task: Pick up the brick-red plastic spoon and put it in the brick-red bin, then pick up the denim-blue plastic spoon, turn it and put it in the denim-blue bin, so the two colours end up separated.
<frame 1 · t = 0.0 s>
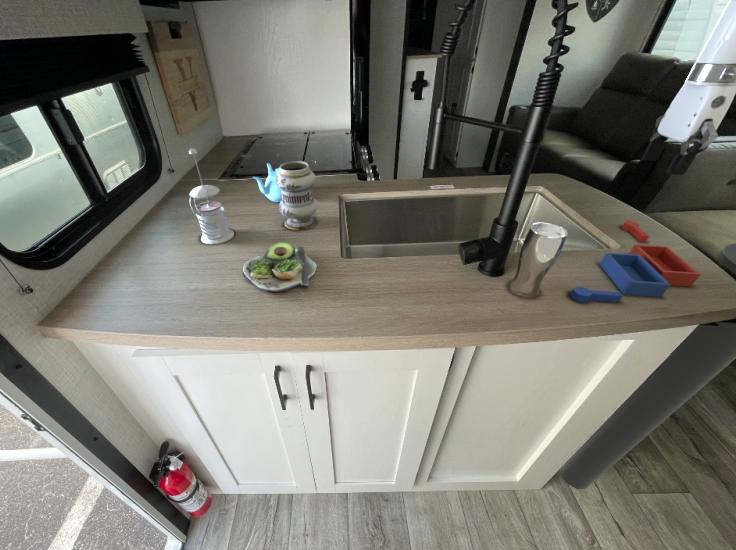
hand: (661, 166, 73), 21 cm above the worktop, tool pointing down, fingers open, 9 cm apart
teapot: (280, 198, 121), on the worktop
red bin: (656, 270, 78), on the worktop
apothecary jar: (300, 223, 104), on the worktop
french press: (215, 236, 99), on the worktop
blue spoon: (594, 298, 71), on the worktop
red spoon: (634, 234, 92), on the worktop
blue bin: (628, 279, 76), on the worktop
beer glass: (523, 289, 74), on the worktop
salad plate: (281, 271, 83), on the worktop
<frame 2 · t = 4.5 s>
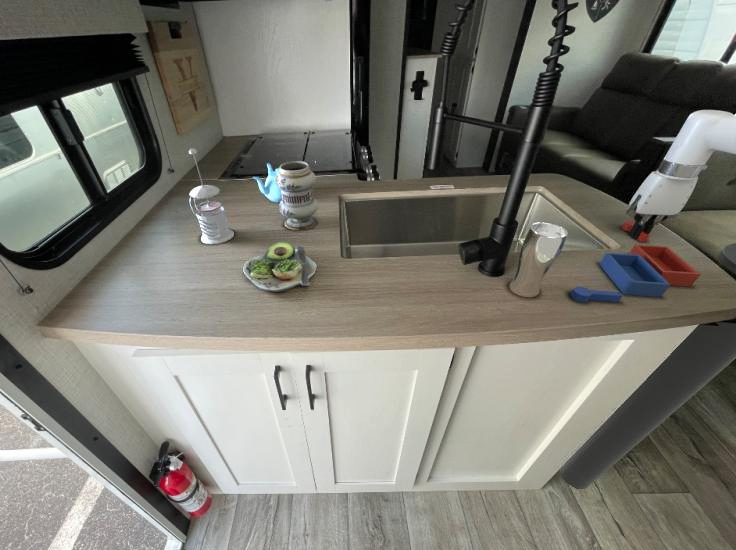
hand: (637, 236, 91), 0 cm above the worktop, tool pointing down, fingers closed on red spoon, 1 cm apart
red spoon: (634, 234, 92), on the worktop, touching gripper
everything else where it was.
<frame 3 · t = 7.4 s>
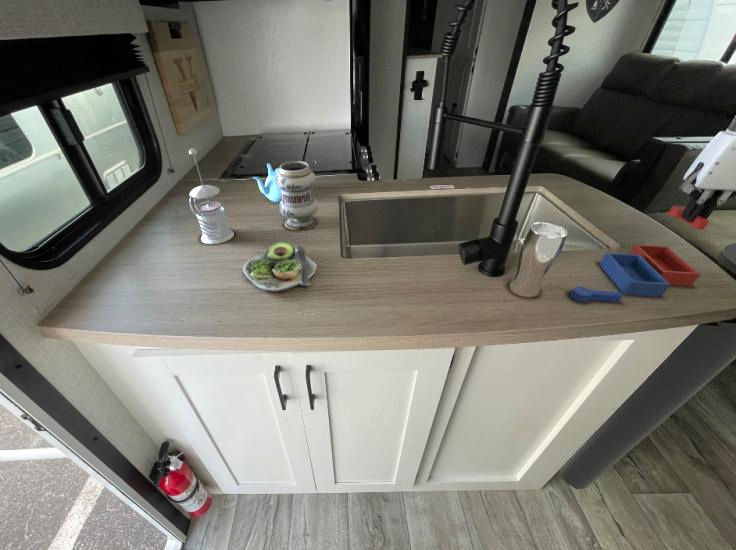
hand: (691, 219, 70), 13 cm above the worktop, tool pointing down, fingers closed on red spoon, 1 cm apart
red spoon: (686, 220, 72), point 12 cm above the worktop, touching gripper
everything else where it was.
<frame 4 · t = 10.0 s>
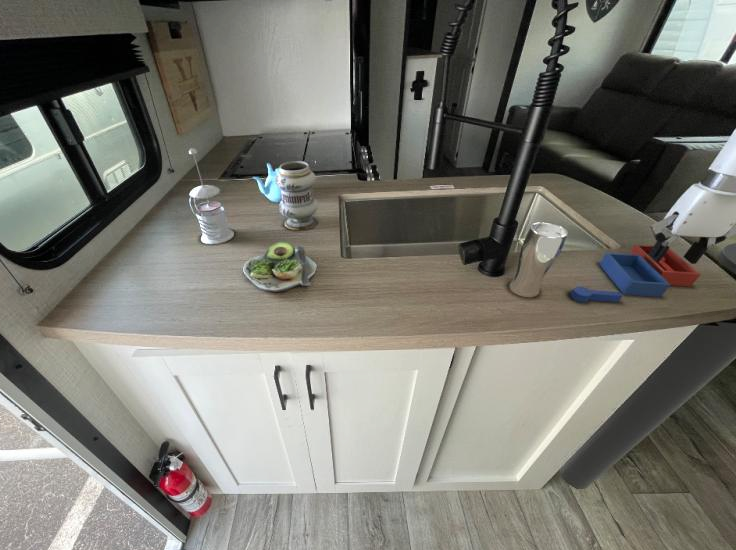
hand: (671, 259, 74), 4 cm above the worktop, tool pointing down, fingers open, 6 cm apart
red spoon: (659, 270, 77), resting on red bin
everything else where it was.
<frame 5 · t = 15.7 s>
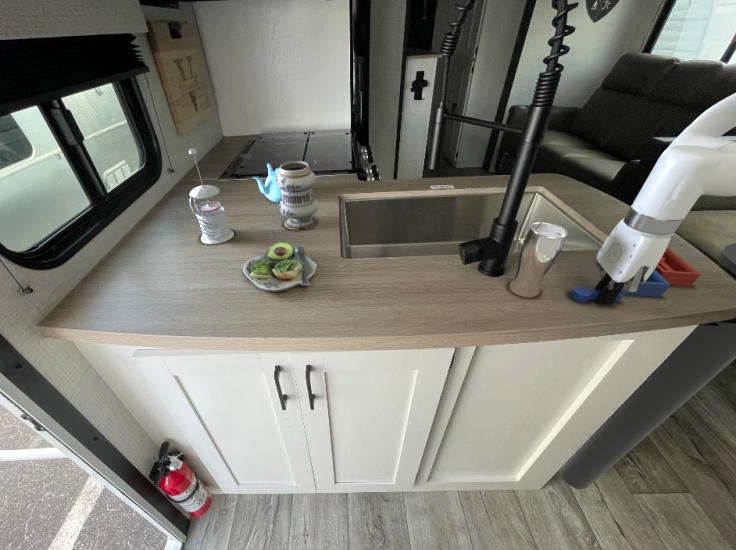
hand: (601, 298, 70), 0 cm above the worktop, tool pointing down, fingers closed on blue spoon, 1 cm apart
blue spoon: (594, 298, 71), on the worktop, touching gripper
everything else where it was.
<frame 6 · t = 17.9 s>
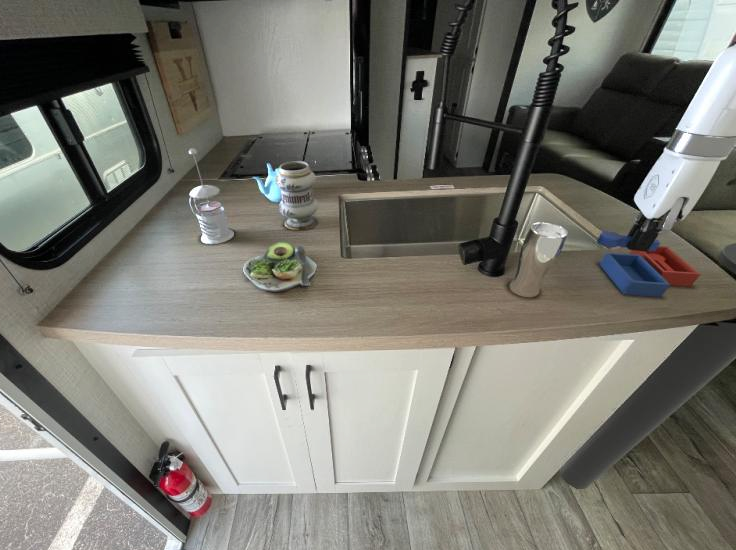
hand: (635, 246, 62), 13 cm above the worktop, tool pointing down, fingers closed on blue spoon, 1 cm apart
blue spoon: (625, 245, 63), point 13 cm above the worktop, touching gripper
everything else where it was.
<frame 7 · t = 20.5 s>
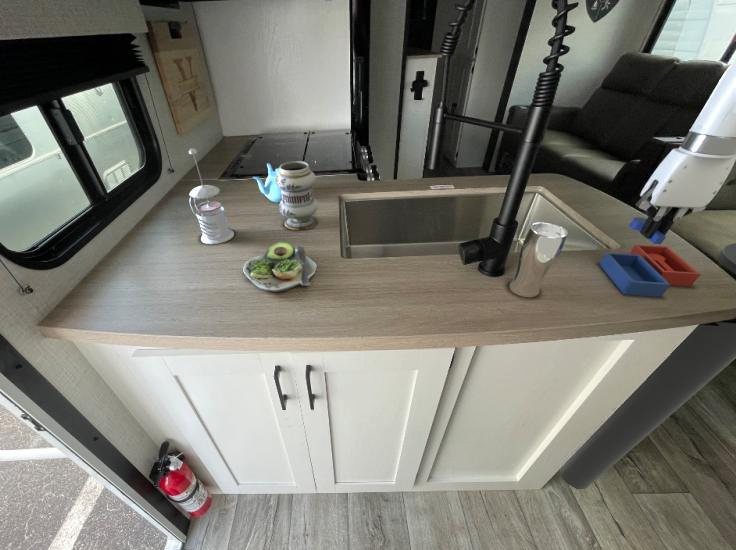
hand: (650, 235, 70), 11 cm above the worktop, tool pointing down, fingers closed on blue spoon, 1 cm apart
blue spoon: (645, 234, 71), point 10 cm above the worktop, touching gripper
everything else where it was.
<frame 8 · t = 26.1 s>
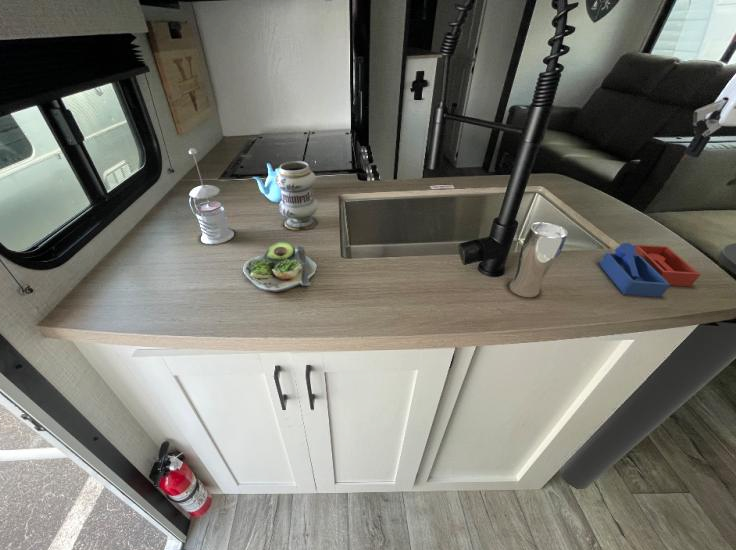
hand: (717, 155, 68), 24 cm above the worktop, tool pointing down, fingers open, 9 cm apart
blue spoon: (625, 263, 77), point 2 cm above the worktop, tilted 25°, touching blue bin
everything else where it was.
at the end: red spoon inside the target area in the red bin (0.5 cm from its centre), point 0.4 cm above the red bin's base; blue spoon inside the target area in the blue bin (3.2 cm from its centre), point 2.3 cm above the blue bin's base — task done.
